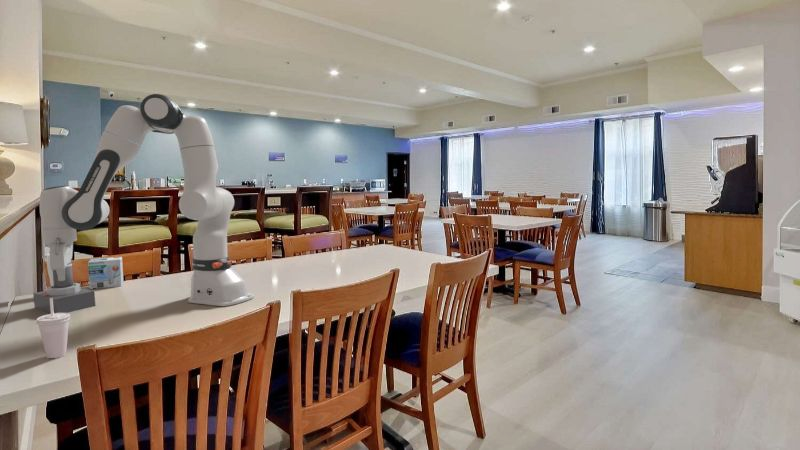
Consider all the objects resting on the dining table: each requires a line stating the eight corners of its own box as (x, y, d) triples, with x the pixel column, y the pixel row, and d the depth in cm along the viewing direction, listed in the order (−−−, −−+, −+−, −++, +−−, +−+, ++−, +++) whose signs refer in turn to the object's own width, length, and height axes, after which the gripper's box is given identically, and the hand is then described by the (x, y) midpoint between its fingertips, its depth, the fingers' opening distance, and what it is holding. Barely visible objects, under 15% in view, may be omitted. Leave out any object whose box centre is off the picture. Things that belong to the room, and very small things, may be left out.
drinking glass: (60, 297, 153) (56, 255, 151) (44, 296, 154) (40, 255, 152) (77, 292, 159) (74, 252, 158) (62, 291, 161) (59, 251, 159)
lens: (74, 288, 145) (72, 261, 144) (73, 291, 141) (70, 264, 140) (55, 290, 142) (53, 263, 141) (53, 293, 138) (50, 265, 137)
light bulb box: (89, 289, 164) (86, 261, 163) (91, 285, 170) (89, 258, 169) (122, 286, 169) (120, 259, 168) (124, 282, 175) (122, 256, 174)
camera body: (95, 305, 144) (93, 285, 143) (56, 314, 134) (55, 292, 133) (73, 299, 150) (71, 280, 149) (34, 308, 141) (32, 287, 140)
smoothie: (67, 348, 109) (63, 293, 107) (77, 354, 105) (73, 298, 103) (35, 356, 103) (30, 299, 102) (44, 363, 100) (39, 304, 98)
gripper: (68, 239, 132) (71, 284, 134) (75, 232, 150) (78, 271, 151) (41, 241, 129) (45, 286, 131) (51, 233, 146) (55, 273, 148)
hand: (63, 278), depth 141 cm, fingers open, 5 cm apart
